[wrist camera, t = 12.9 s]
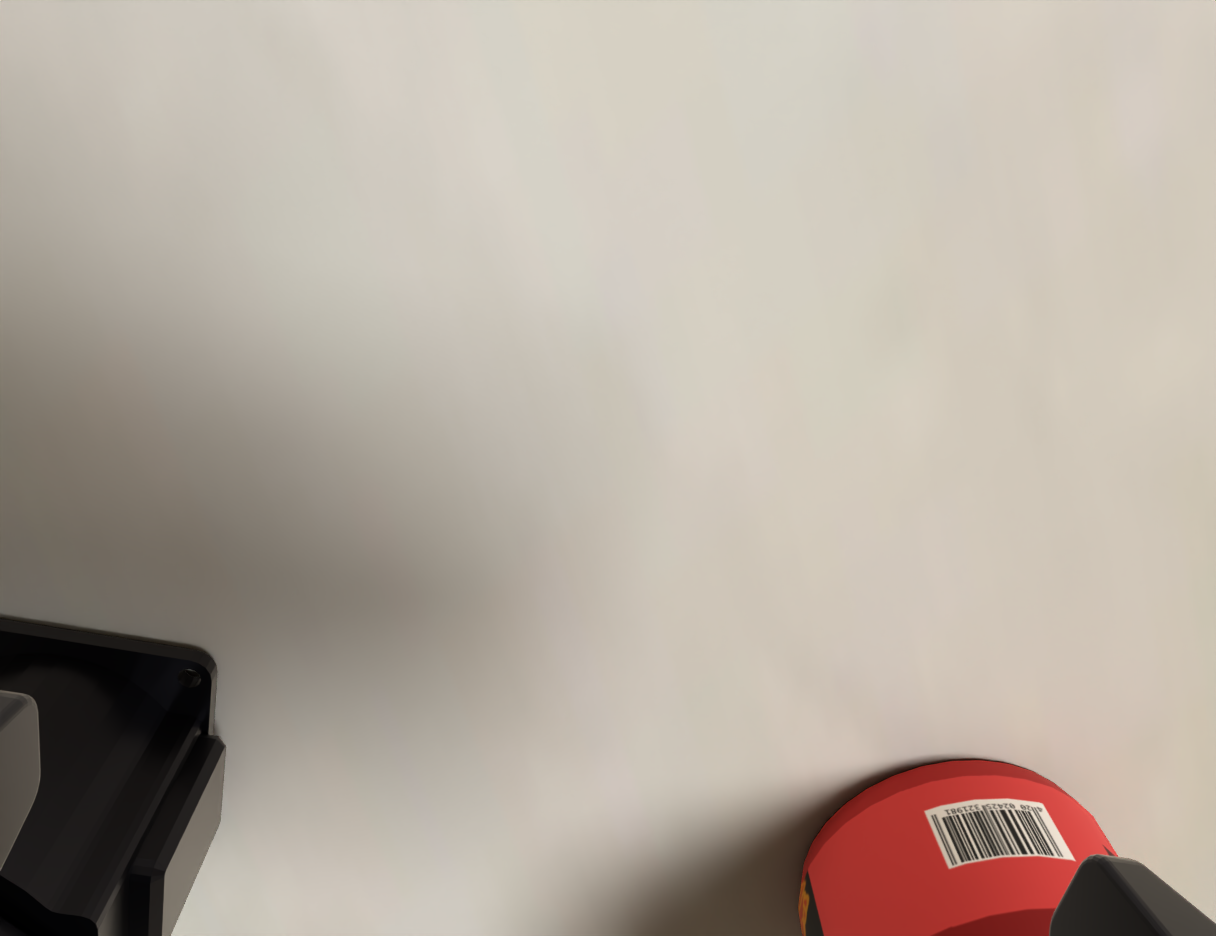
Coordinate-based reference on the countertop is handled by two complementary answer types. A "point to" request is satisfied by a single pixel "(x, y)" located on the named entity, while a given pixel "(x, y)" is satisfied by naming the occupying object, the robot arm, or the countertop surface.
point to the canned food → (947, 855)
